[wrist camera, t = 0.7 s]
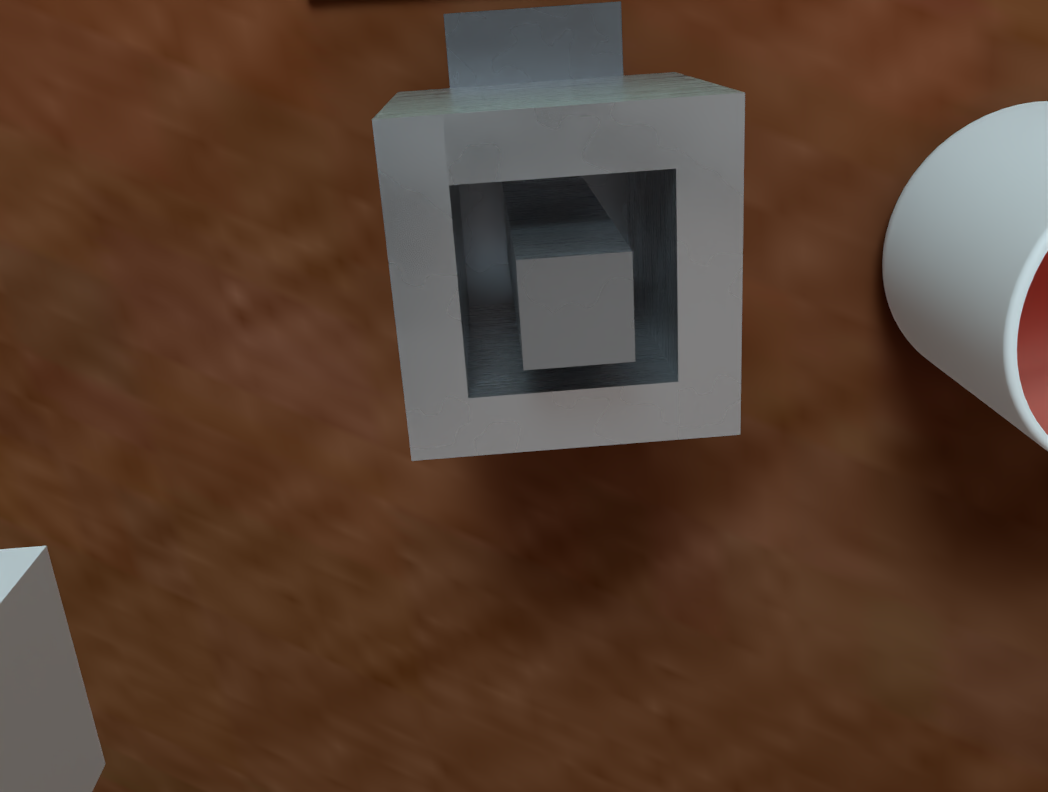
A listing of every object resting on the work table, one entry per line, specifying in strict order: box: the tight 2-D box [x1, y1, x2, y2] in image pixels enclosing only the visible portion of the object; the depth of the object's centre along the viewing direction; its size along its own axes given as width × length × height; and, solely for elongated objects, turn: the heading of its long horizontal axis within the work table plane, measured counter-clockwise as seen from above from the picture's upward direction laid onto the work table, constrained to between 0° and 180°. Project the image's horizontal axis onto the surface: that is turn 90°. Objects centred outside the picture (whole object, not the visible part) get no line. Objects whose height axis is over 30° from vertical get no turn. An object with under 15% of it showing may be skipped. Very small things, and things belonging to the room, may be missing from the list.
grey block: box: [444, 2, 635, 370], centre depth 28 cm, size 5×12×15 cm, turn 4°
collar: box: [372, 72, 745, 461], centre depth 27 cm, size 8×8×8 cm
